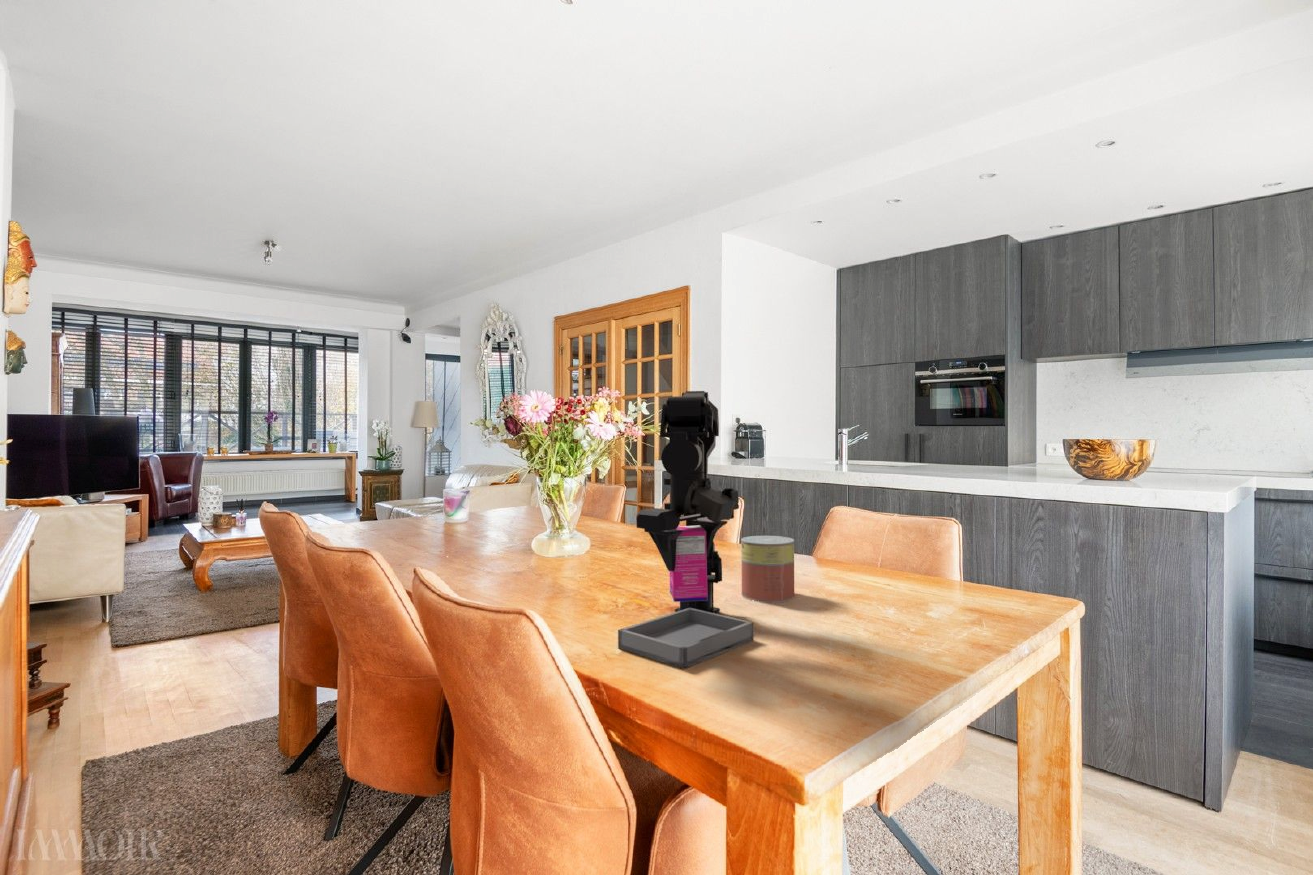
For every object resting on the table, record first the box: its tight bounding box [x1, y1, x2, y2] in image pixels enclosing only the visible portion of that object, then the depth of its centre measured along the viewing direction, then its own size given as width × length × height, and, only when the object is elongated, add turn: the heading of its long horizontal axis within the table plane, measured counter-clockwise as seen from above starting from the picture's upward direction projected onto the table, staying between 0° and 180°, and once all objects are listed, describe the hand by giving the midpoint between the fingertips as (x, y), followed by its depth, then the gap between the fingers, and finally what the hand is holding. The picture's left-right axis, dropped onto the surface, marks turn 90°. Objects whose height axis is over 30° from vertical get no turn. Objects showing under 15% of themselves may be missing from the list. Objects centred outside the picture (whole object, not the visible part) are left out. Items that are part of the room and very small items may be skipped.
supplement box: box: [668, 525, 708, 603], centre depth 108 cm, size 6×6×12 cm
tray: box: [617, 608, 755, 670], centre depth 109 cm, size 18×14×3 cm
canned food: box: [740, 534, 796, 603], centre depth 140 cm, size 11×11×12 cm
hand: (687, 566), depth 108 cm, fingers closed on supplement box, 8 cm apart
